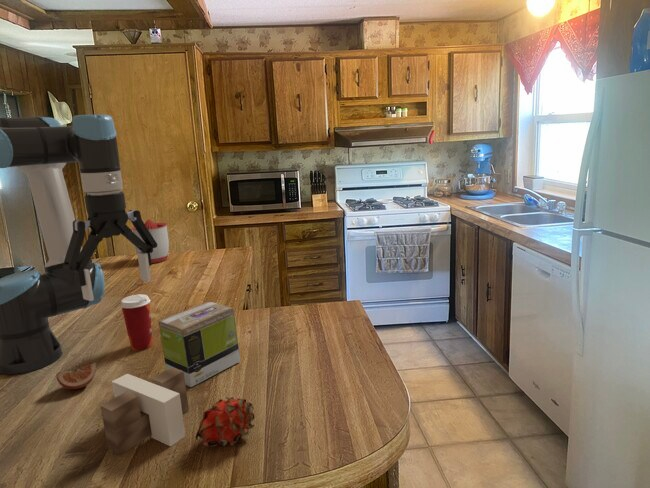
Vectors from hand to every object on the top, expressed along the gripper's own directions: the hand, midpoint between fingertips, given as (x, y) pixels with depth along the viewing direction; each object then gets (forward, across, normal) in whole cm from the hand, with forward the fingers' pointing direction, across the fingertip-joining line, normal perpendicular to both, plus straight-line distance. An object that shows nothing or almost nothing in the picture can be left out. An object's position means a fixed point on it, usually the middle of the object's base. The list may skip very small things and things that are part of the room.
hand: (118, 289), depth 102 cm
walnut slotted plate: (+23, -8, -17) cm, 30 cm away
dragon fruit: (+23, -2, -33) cm, 41 cm away
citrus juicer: (+28, +76, +98) cm, 127 cm away
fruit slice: (+24, -6, +12) cm, 28 cm away
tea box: (+24, +14, -8) cm, 29 cm away
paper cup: (+25, +15, +18) cm, 34 cm away
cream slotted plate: (+23, -8, -17) cm, 30 cm away
